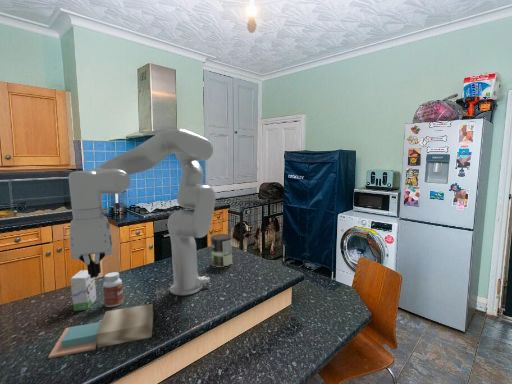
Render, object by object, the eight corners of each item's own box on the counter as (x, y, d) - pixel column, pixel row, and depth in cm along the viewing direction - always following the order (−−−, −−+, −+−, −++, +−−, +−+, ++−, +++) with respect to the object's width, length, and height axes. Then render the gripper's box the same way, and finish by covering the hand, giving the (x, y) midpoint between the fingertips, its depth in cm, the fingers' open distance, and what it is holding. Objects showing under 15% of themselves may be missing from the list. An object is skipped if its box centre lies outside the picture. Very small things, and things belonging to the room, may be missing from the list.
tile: (103, 327, 88) (103, 321, 88) (99, 340, 81) (98, 334, 81) (70, 334, 85) (69, 327, 85) (62, 348, 79) (61, 341, 79)
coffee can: (212, 269, 137) (211, 240, 136) (210, 262, 147) (209, 235, 146) (234, 266, 139) (233, 238, 138) (230, 259, 149) (229, 233, 148)
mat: (105, 322, 92) (105, 321, 92) (95, 349, 79) (95, 347, 79) (66, 329, 89) (65, 327, 89) (48, 358, 75) (48, 356, 75)
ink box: (88, 309, 101) (85, 277, 100) (72, 311, 100) (69, 278, 99) (97, 298, 109) (94, 268, 108) (83, 300, 109) (80, 270, 107)
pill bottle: (121, 306, 103) (119, 276, 102) (102, 309, 101) (100, 278, 100) (125, 298, 109) (123, 270, 108) (107, 300, 107) (105, 272, 106)
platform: (153, 315, 96) (152, 303, 95) (151, 337, 84) (150, 324, 83) (106, 323, 92) (105, 311, 91) (97, 347, 79) (96, 333, 79)
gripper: (118, 209, 88) (124, 267, 90) (62, 214, 83) (69, 275, 85) (114, 213, 80) (121, 276, 82) (52, 219, 76) (61, 285, 78)
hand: (94, 275), depth 84 cm, fingers closed
